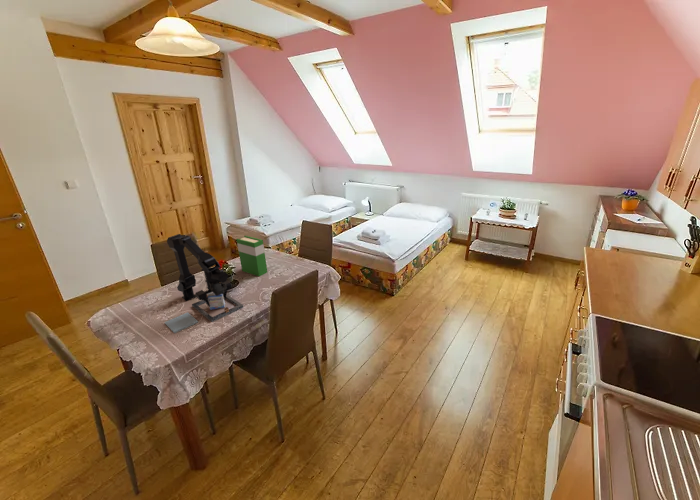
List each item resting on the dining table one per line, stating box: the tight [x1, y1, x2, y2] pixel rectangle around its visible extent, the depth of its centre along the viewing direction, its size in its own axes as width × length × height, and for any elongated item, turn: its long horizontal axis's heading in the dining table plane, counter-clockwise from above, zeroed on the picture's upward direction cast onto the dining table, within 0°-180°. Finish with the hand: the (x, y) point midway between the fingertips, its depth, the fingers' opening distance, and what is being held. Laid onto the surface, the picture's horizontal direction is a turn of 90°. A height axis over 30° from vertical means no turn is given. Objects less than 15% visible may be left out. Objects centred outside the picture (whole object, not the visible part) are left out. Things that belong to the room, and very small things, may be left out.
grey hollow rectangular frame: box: [191, 293, 244, 323], centre depth 180 cm, size 24×19×4 cm
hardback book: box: [236, 235, 268, 277], centre depth 218 cm, size 18×7×24 cm, turn 57°
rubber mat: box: [164, 311, 199, 334], centre depth 167 cm, size 13×12×1 cm
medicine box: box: [207, 292, 226, 310], centre depth 179 cm, size 8×4×9 cm, turn 105°
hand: (216, 303), depth 180 cm, fingers closed on medicine box, 9 cm apart
